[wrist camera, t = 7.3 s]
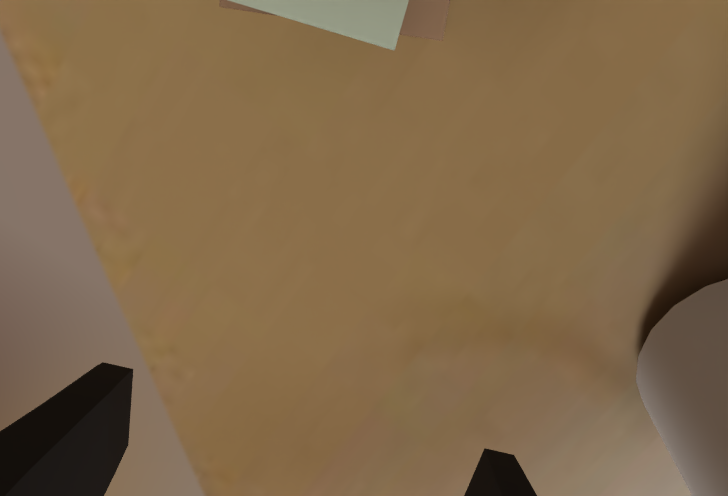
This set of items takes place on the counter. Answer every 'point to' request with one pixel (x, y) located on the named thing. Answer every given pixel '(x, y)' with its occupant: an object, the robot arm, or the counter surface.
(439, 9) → the walnut slab
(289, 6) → the green block
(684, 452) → the can
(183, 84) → the counter surface
